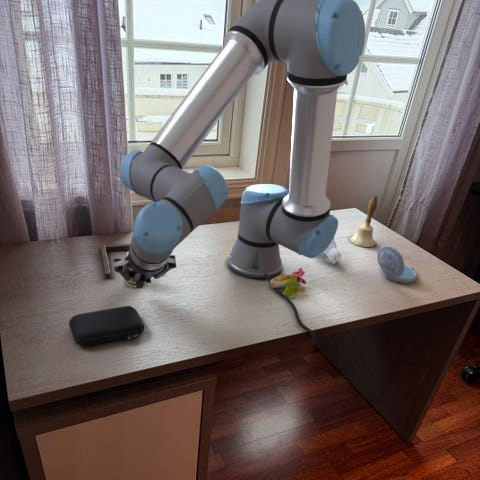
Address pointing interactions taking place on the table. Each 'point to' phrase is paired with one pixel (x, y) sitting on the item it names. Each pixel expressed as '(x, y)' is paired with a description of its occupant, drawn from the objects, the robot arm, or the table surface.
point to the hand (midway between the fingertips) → (138, 282)
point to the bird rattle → (289, 283)
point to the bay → (111, 248)
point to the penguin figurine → (332, 252)
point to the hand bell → (366, 228)
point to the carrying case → (106, 325)
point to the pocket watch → (394, 265)
